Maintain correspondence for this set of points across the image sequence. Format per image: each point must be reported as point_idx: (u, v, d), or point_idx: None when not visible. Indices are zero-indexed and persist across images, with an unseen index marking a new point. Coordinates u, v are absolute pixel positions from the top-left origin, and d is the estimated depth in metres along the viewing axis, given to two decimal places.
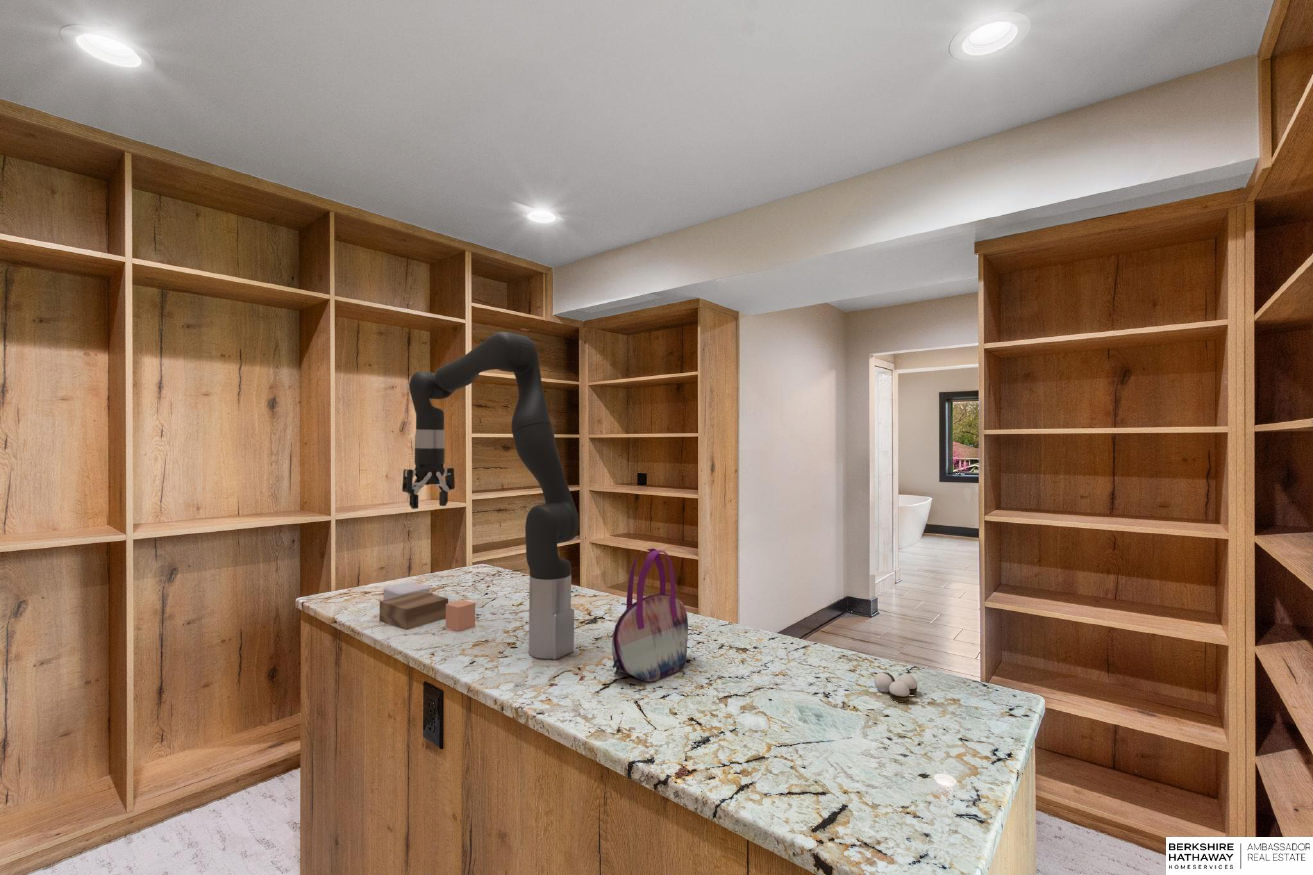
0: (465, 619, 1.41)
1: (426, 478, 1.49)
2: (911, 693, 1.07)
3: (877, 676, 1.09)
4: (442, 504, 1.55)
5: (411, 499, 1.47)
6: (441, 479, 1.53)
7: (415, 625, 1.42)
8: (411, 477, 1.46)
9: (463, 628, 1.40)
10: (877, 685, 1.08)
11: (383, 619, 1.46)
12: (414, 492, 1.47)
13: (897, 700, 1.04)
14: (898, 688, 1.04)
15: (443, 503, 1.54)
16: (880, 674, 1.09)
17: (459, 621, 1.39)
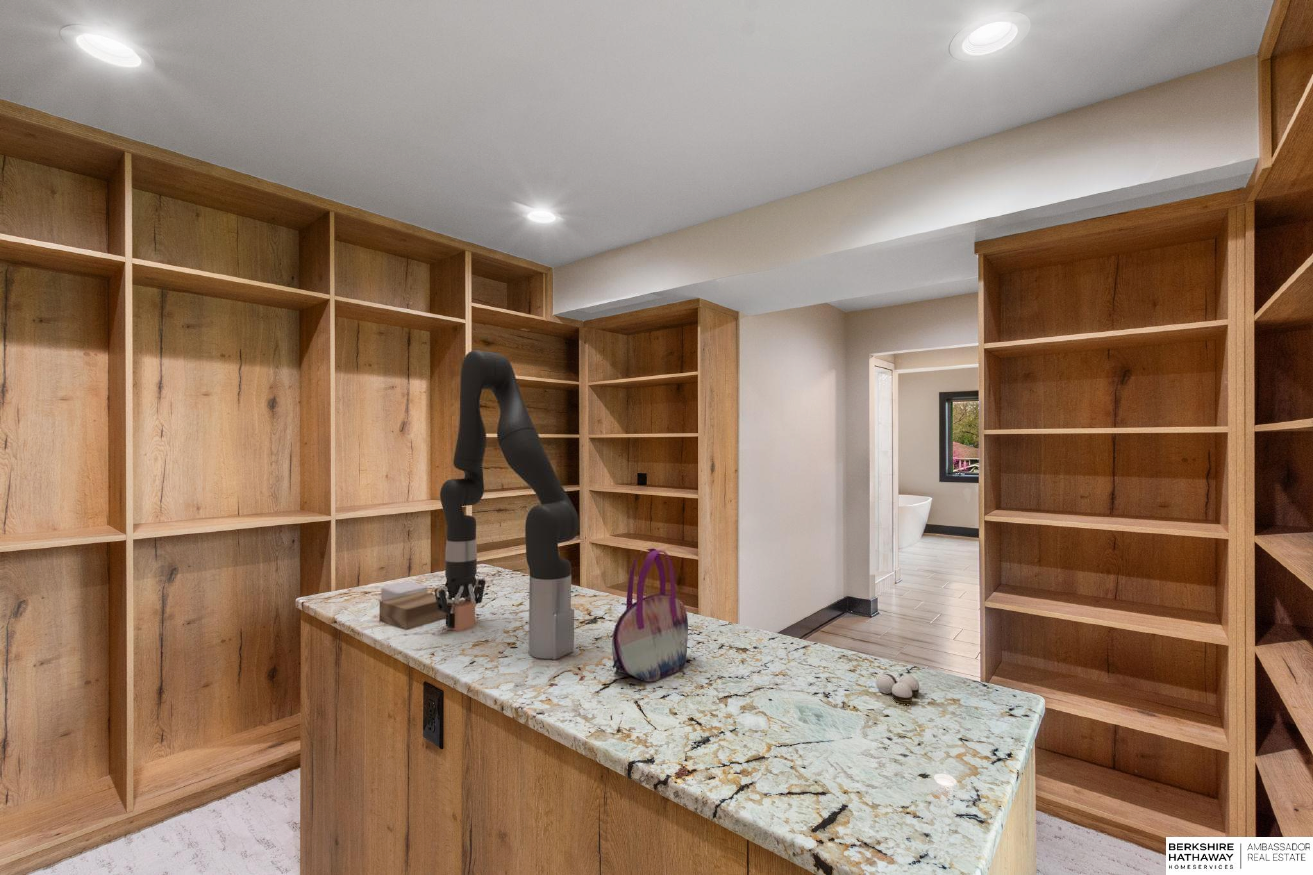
0: (465, 619, 1.41)
1: (459, 593, 1.40)
2: (913, 694, 1.06)
3: (879, 677, 1.08)
4: None
5: (447, 618, 1.39)
6: (471, 592, 1.43)
7: (415, 625, 1.42)
8: (444, 597, 1.37)
9: (463, 628, 1.40)
10: (879, 687, 1.07)
11: (383, 619, 1.46)
12: (451, 612, 1.39)
13: (900, 702, 1.03)
14: (901, 689, 1.03)
15: None
16: (882, 675, 1.08)
17: (459, 621, 1.39)
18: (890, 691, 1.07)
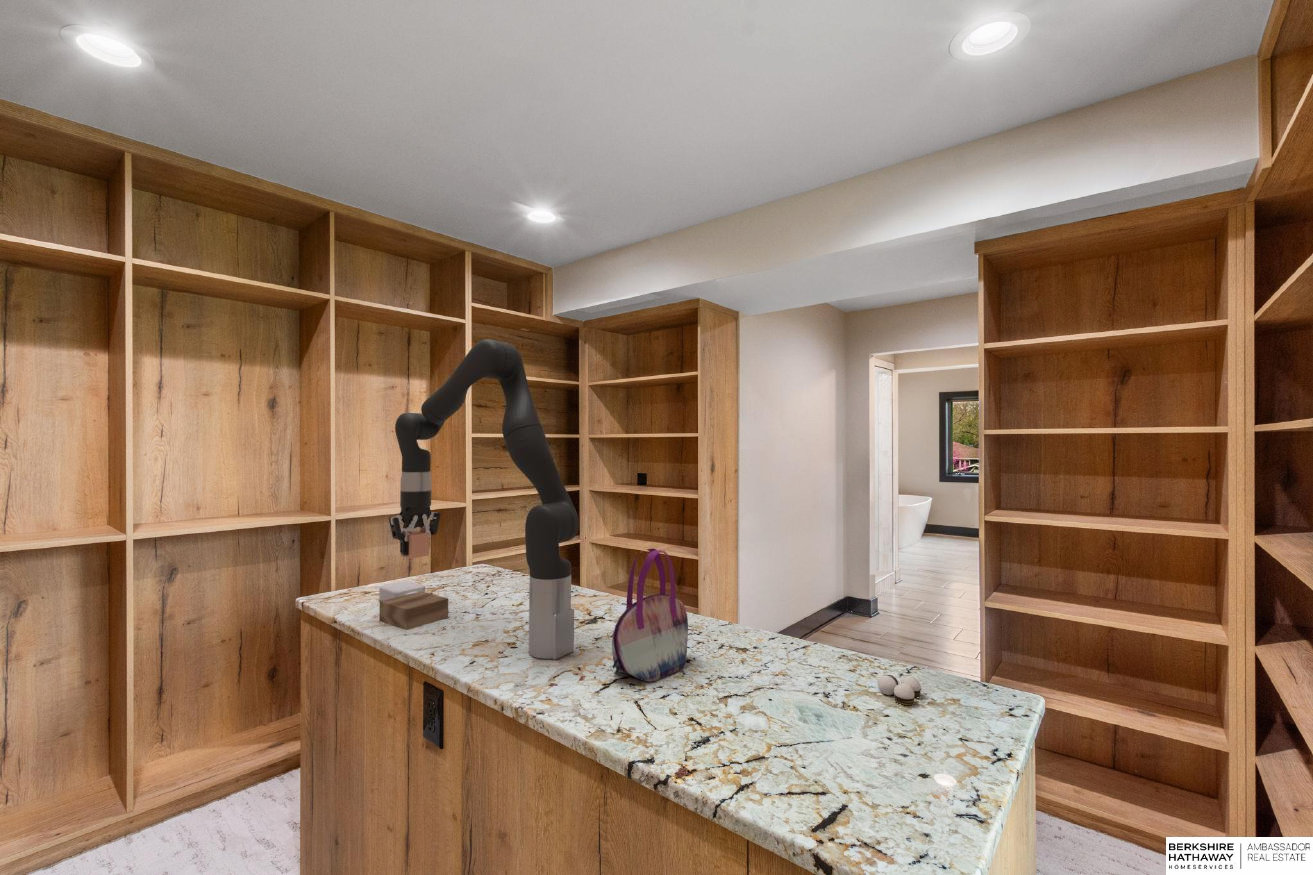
0: (419, 547, 1.47)
1: (413, 522, 1.46)
2: (915, 695, 1.06)
3: (881, 679, 1.08)
4: None
5: (402, 546, 1.45)
6: (426, 523, 1.49)
7: (415, 625, 1.42)
8: (398, 525, 1.43)
9: (417, 555, 1.46)
10: (881, 688, 1.07)
11: (383, 619, 1.46)
12: (405, 539, 1.45)
13: (902, 703, 1.03)
14: (903, 691, 1.03)
15: None
16: (884, 677, 1.08)
17: (413, 548, 1.45)
18: (892, 692, 1.06)
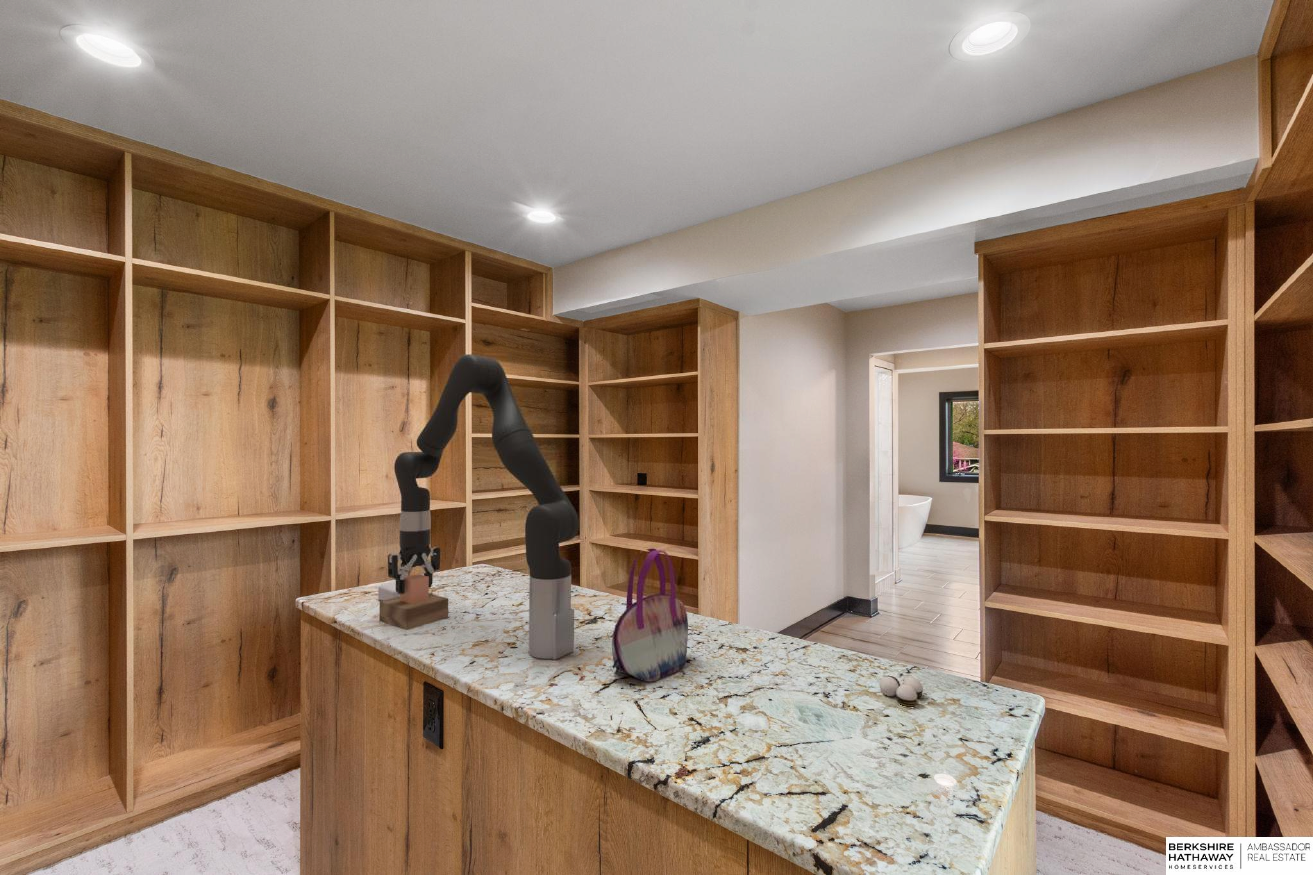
0: (418, 592, 1.47)
1: (411, 561, 1.46)
2: (917, 696, 1.05)
3: (883, 680, 1.07)
4: None
5: (397, 584, 1.44)
6: (426, 560, 1.49)
7: (415, 625, 1.42)
8: (396, 563, 1.43)
9: (416, 600, 1.46)
10: (883, 689, 1.06)
11: (383, 619, 1.46)
12: (400, 578, 1.44)
13: (905, 704, 1.02)
14: (906, 692, 1.02)
15: None
16: (886, 678, 1.07)
17: (412, 593, 1.45)
18: (894, 694, 1.06)
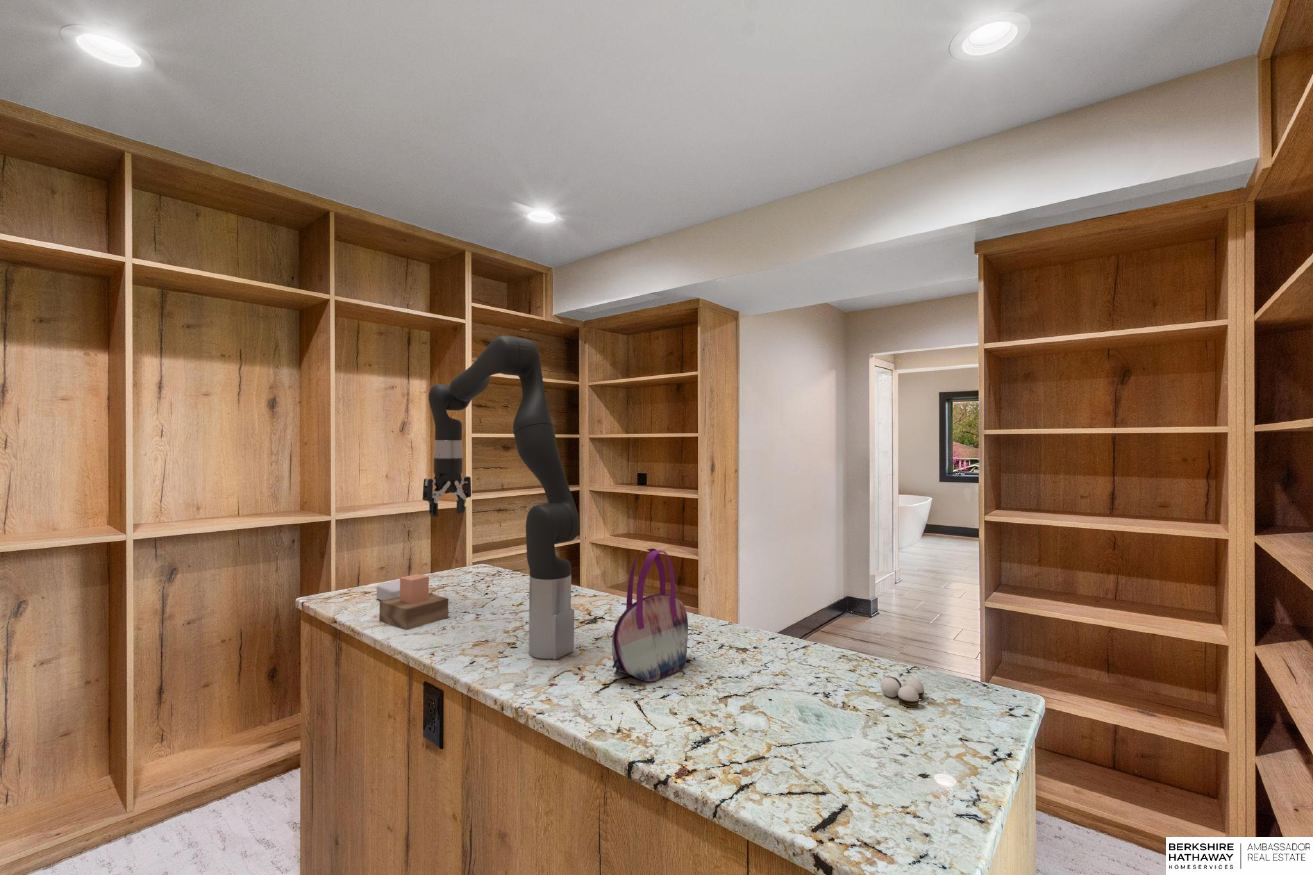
0: (418, 592, 1.47)
1: (445, 487, 1.54)
2: (918, 697, 1.05)
3: (884, 681, 1.07)
4: (459, 512, 1.60)
5: (431, 507, 1.52)
6: (459, 488, 1.58)
7: (415, 625, 1.42)
8: (431, 486, 1.51)
9: (416, 600, 1.46)
10: (885, 690, 1.06)
11: (383, 619, 1.46)
12: (434, 501, 1.52)
13: (907, 705, 1.02)
14: (908, 693, 1.02)
15: (460, 511, 1.60)
16: (887, 679, 1.07)
17: (412, 593, 1.45)
18: (895, 694, 1.05)
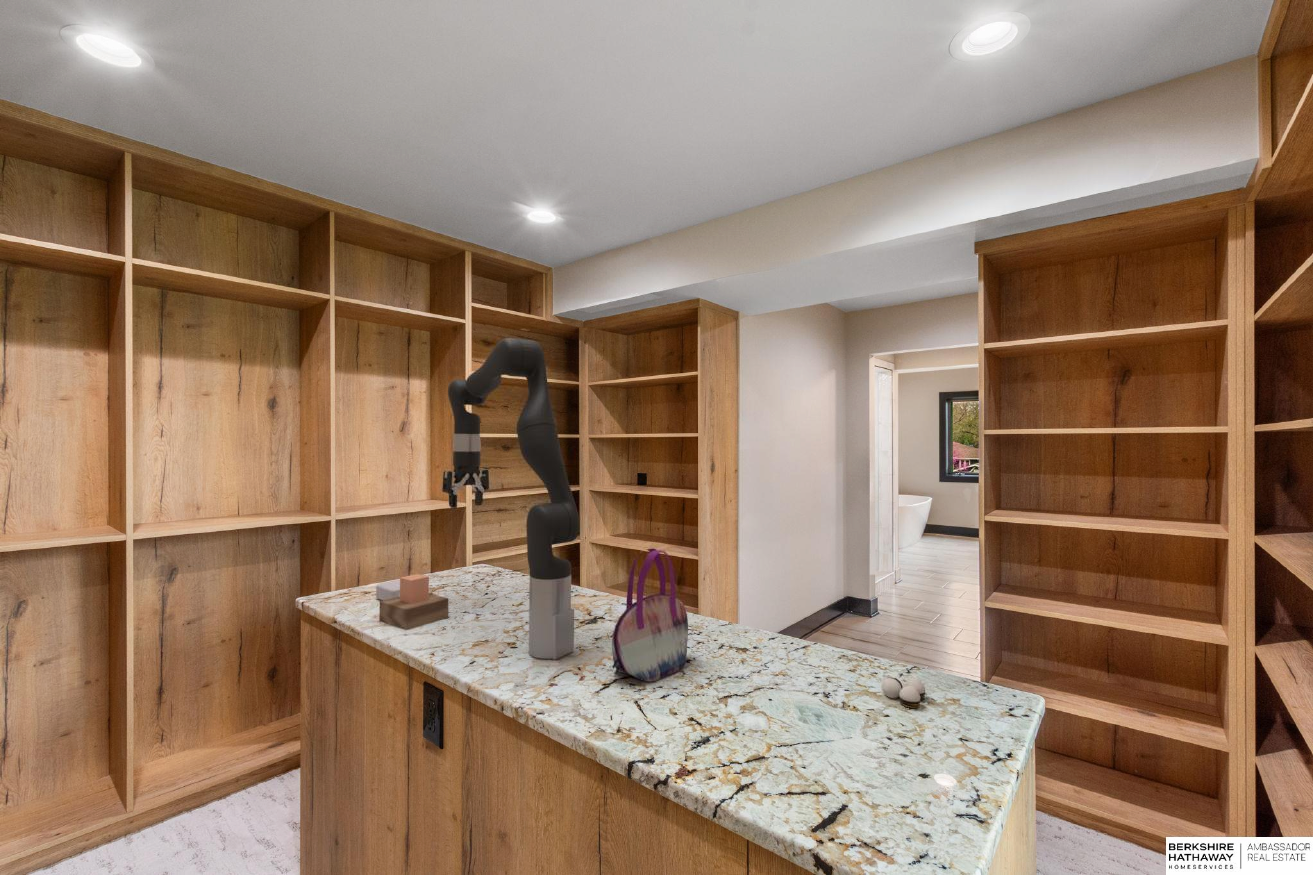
0: (418, 592, 1.47)
1: (464, 479, 1.59)
2: (920, 697, 1.05)
3: (885, 682, 1.06)
4: (478, 504, 1.65)
5: (450, 499, 1.57)
6: (477, 480, 1.63)
7: (415, 625, 1.42)
8: (451, 478, 1.56)
9: (416, 600, 1.46)
10: (886, 691, 1.05)
11: (383, 619, 1.46)
12: (453, 492, 1.57)
13: (909, 706, 1.01)
14: (909, 693, 1.02)
15: (479, 503, 1.65)
16: (888, 680, 1.06)
17: (412, 593, 1.45)
18: (897, 695, 1.05)
